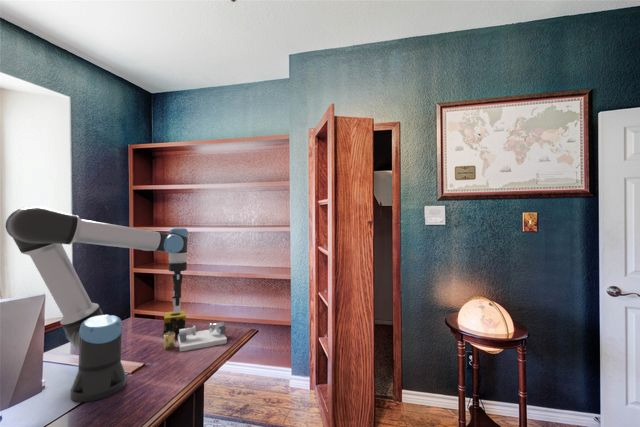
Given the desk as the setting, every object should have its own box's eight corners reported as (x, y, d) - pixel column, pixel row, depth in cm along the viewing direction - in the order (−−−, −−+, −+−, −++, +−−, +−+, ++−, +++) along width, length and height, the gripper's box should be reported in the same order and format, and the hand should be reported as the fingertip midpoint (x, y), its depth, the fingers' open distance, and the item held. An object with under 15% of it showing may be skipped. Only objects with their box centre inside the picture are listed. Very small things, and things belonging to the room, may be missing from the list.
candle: (163, 331, 153) (164, 312, 153) (185, 328, 157) (185, 309, 158) (162, 338, 144) (163, 318, 144) (185, 335, 148) (185, 315, 148)
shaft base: (179, 351, 130) (180, 333, 130) (177, 338, 144) (178, 322, 144) (226, 343, 140) (227, 326, 140) (220, 331, 154) (220, 316, 154)
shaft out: (212, 336, 142) (212, 324, 142) (208, 333, 146) (208, 321, 146) (225, 333, 147) (226, 321, 147) (221, 330, 150) (221, 319, 151)
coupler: (163, 350, 131) (163, 335, 131) (163, 346, 135) (163, 331, 135) (175, 348, 133) (175, 333, 134) (174, 344, 137) (174, 330, 138)
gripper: (188, 265, 126) (187, 315, 125) (185, 258, 148) (184, 301, 148) (168, 266, 123) (167, 317, 122) (168, 258, 145) (167, 302, 144)
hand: (176, 308), depth 135 cm, fingers open, 13 cm apart
